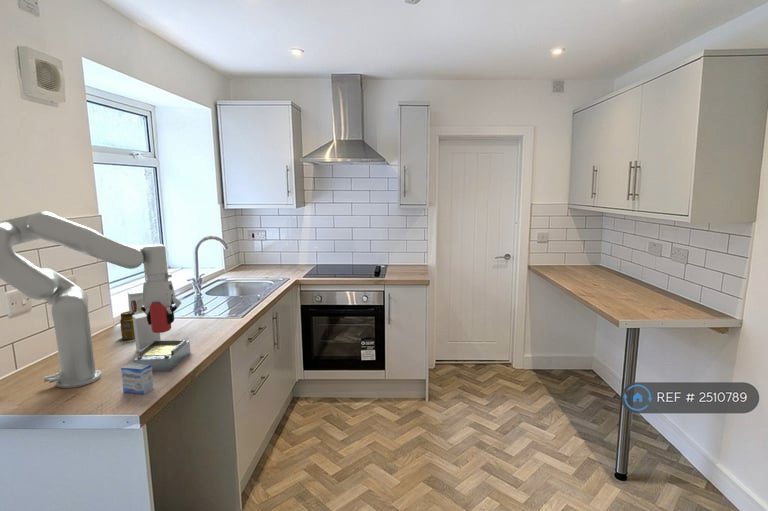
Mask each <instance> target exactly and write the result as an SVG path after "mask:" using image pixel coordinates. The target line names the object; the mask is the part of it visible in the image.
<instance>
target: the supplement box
mask: <svg viewBox="0 0 768 511" xmlns="http://www.w3.org/2000/svg"><path fill="white" fill-rule="evenodd" d="M127 298H128V299H127V300H128V311H133V312H134V313H135V314H134V315H136V314H141V313H145V312H144V311H142V310H141V308H139V307H138V306H137V304H138V303H139V302H140V301H141V300H142V299H143V288H140V289H131V290H127ZM143 305H144V304H143Z"/></svg>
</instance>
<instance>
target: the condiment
mask: <svg viewBox="0 0 768 511" xmlns="http://www.w3.org/2000/svg"><path fill="white" fill-rule="evenodd" d="M134 314H135V313H134V312H133V311H129V310H128V311H124V312H122V313H120V319H119V322H120V323H119V324H120V330H121V331H120V332H121V338H119V339H117V340H116V341H114V342H115V343H132V342H135V333H134V325H133V317H132V315H134Z"/></svg>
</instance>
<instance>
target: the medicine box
mask: <svg viewBox="0 0 768 511" xmlns="http://www.w3.org/2000/svg"><path fill="white" fill-rule="evenodd" d="M120 371H121V380H122V381H121V382H122V391H123V394H124V393H125V394H138V395H145V394H147V393H148V392H150V391H152V390H153V389H154V380H153V379H154V377H153V372H152V366H151V365H148V364H135V363H134V362H133V363H132V362H130V363H128V364H126V365H124V366H122V367H121V368H120Z"/></svg>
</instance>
